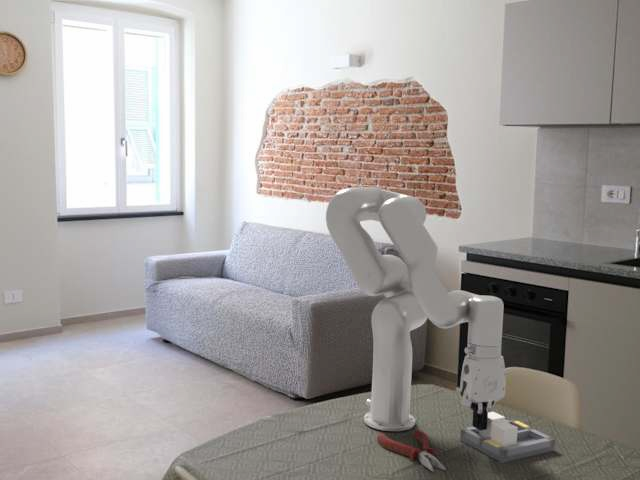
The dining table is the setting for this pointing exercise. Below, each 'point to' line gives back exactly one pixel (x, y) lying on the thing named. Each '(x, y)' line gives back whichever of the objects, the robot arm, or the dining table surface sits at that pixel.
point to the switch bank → (526, 445)
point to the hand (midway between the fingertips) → (479, 427)
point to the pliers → (413, 450)
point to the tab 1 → (491, 420)
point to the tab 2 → (504, 434)
